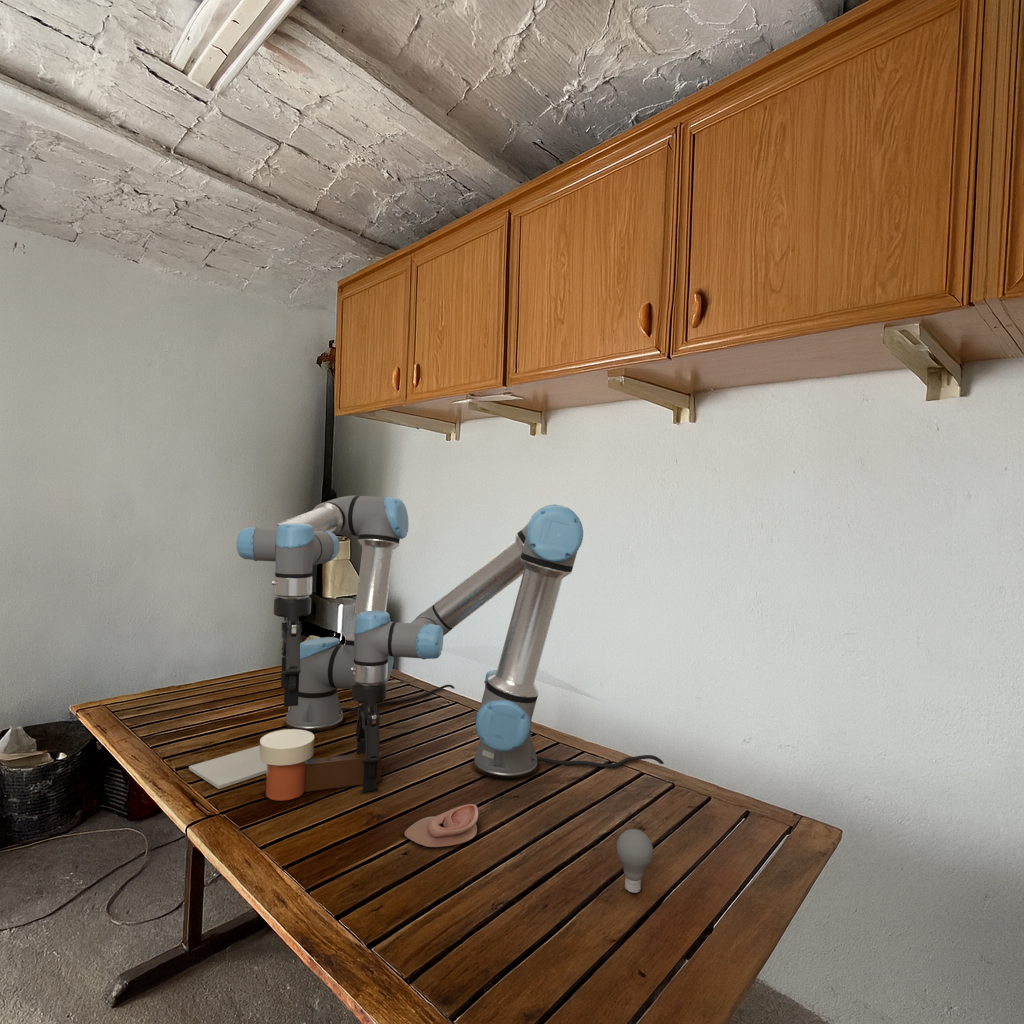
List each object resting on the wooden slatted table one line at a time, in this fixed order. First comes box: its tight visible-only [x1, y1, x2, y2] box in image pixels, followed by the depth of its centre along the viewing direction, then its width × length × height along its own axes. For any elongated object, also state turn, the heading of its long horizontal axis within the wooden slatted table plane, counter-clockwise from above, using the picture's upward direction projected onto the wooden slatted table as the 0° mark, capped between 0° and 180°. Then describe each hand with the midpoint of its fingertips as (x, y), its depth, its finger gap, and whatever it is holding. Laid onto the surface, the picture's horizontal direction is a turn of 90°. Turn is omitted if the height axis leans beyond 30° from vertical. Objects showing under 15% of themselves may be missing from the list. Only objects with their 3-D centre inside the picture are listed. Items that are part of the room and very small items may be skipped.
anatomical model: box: [404, 803, 479, 848], centre depth 121 cm, size 13×4×12 cm
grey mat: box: [188, 744, 267, 790], centre depth 147 cm, size 20×14×1 cm
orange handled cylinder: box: [265, 753, 382, 802], centre depth 138 cm, size 24×8×8 cm, turn 112°
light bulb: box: [615, 828, 654, 894], centre depth 106 cm, size 6×6×10 cm
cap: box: [259, 728, 315, 766], centre depth 135 cm, size 11×11×4 cm
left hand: (289, 695), depth 135 cm, fingers open, 13 cm apart
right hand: (365, 780), depth 142 cm, fingers open, 9 cm apart
